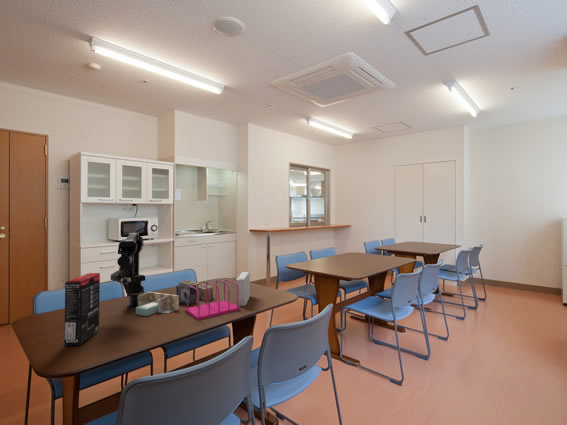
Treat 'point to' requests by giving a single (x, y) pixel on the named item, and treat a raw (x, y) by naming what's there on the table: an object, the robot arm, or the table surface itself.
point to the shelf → (153, 297)
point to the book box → (147, 309)
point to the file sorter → (212, 304)
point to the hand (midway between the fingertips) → (128, 293)
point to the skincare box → (243, 288)
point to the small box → (182, 293)
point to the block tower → (200, 289)
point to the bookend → (163, 306)
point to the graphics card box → (81, 308)
